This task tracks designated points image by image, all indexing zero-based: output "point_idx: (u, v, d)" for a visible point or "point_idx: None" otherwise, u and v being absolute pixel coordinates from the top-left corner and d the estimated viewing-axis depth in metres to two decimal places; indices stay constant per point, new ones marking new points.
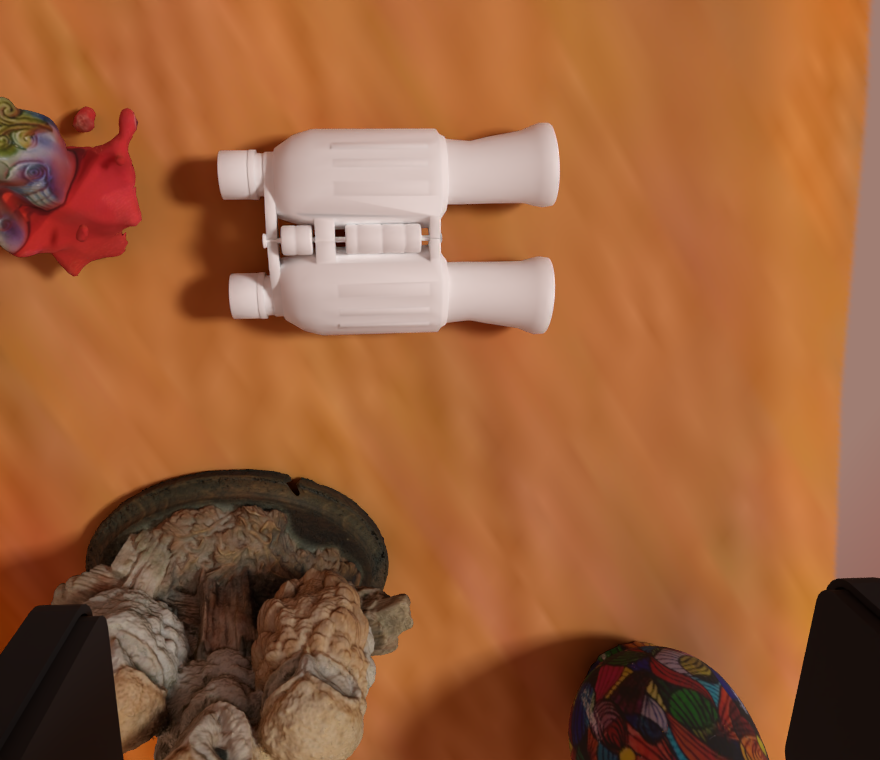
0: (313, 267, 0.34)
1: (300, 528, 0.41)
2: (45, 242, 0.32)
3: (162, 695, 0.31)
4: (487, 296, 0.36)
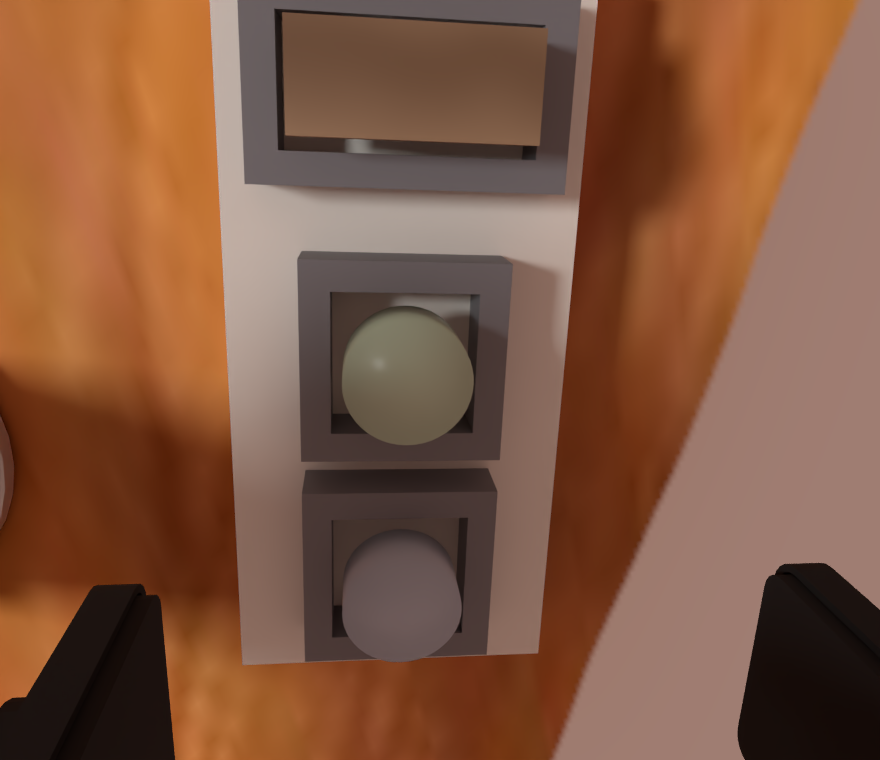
0: None
1: None
2: None
3: None
4: None
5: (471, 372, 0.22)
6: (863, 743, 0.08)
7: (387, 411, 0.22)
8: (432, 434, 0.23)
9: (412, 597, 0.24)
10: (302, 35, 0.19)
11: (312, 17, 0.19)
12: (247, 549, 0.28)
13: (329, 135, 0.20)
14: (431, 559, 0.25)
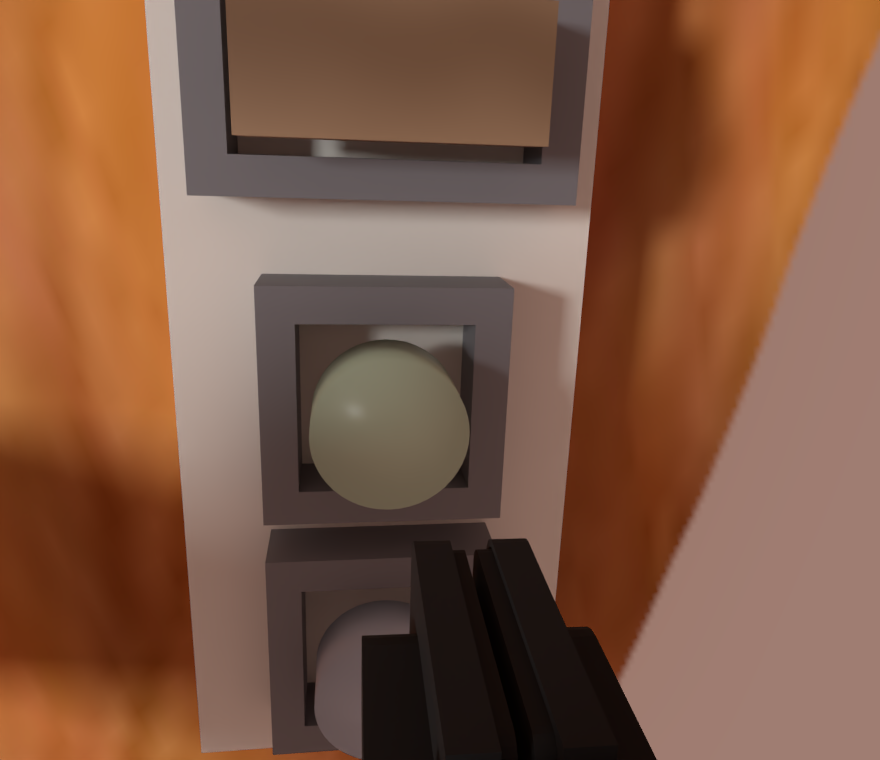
0: None
1: None
2: None
3: None
4: None
5: (466, 421, 0.18)
6: None
7: (365, 470, 0.18)
8: (420, 496, 0.19)
9: None
10: (251, 8, 0.15)
11: None
12: (204, 622, 0.24)
13: (287, 134, 0.16)
14: None
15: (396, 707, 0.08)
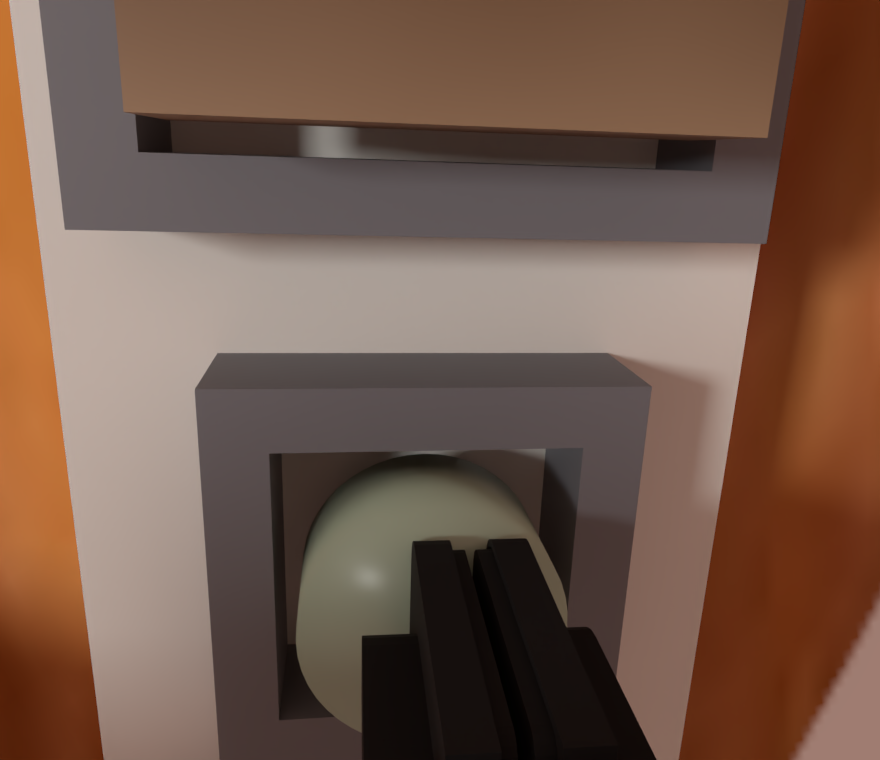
0: None
1: None
2: None
3: None
4: None
5: (563, 606, 0.11)
6: None
7: None
8: None
9: None
10: None
11: None
12: None
13: (243, 112, 0.08)
14: None
15: (396, 707, 0.08)
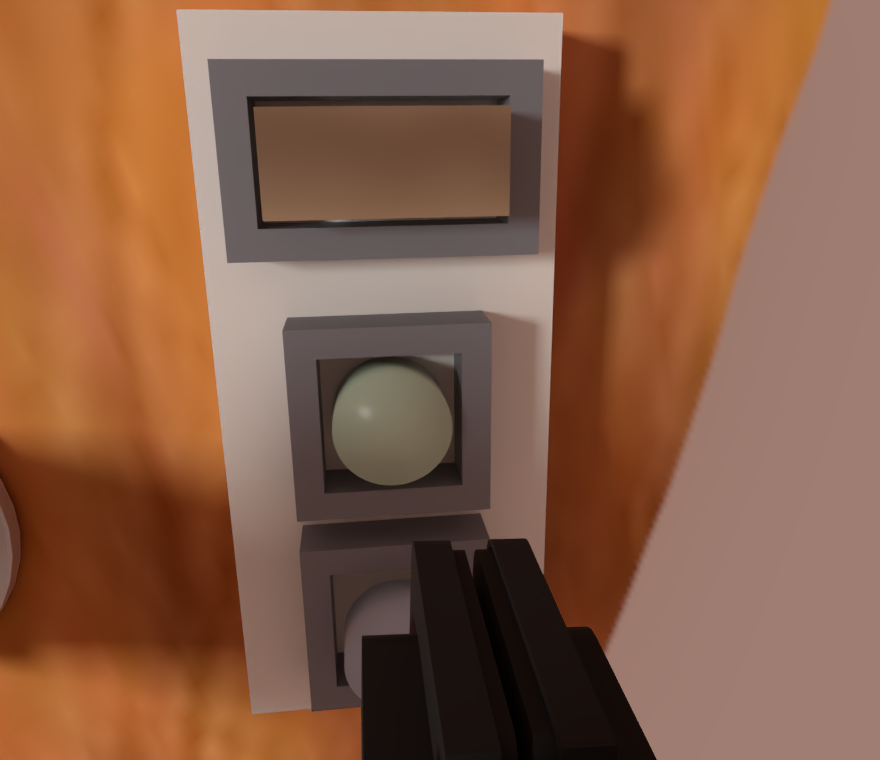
0: None
1: None
2: None
3: None
4: None
5: (450, 416, 0.24)
6: None
7: (375, 455, 0.25)
8: (417, 474, 0.25)
9: None
10: (274, 127, 0.20)
11: (282, 109, 0.20)
12: (250, 604, 0.28)
13: (305, 218, 0.21)
14: None
15: (396, 707, 0.08)
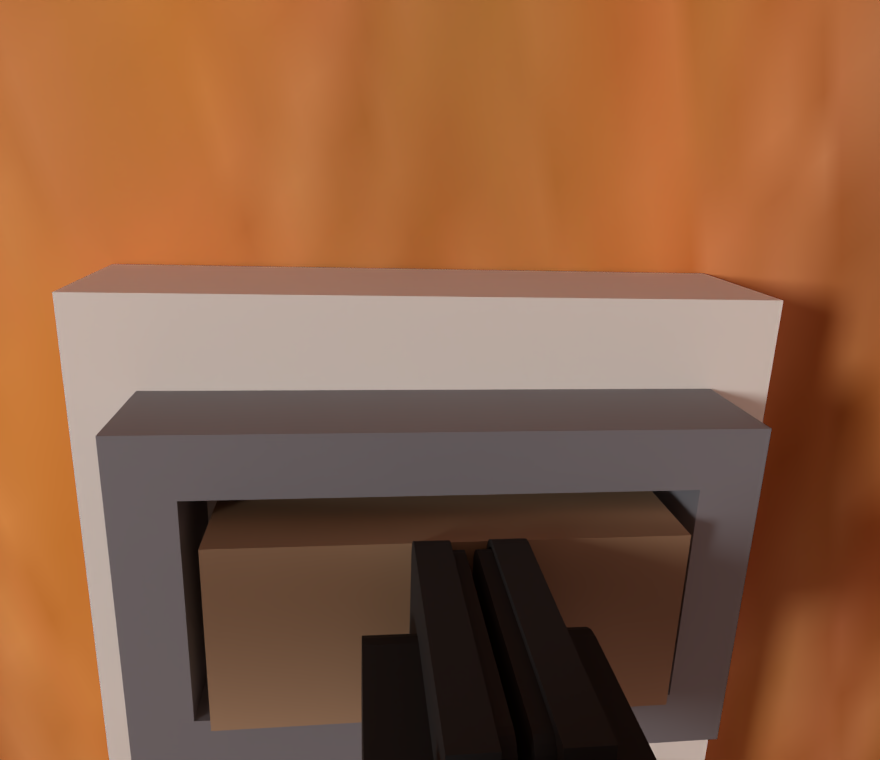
0: None
1: None
2: None
3: None
4: None
5: None
6: None
7: None
8: None
9: None
10: (239, 581, 0.10)
11: (257, 551, 0.10)
12: None
13: (292, 722, 0.11)
14: None
15: (396, 707, 0.08)
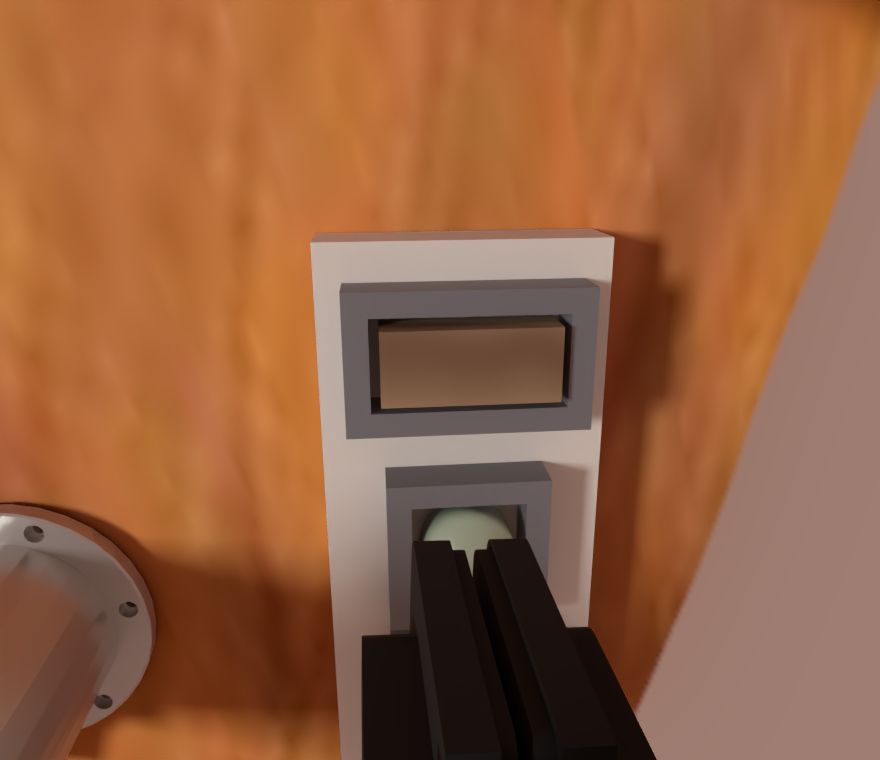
0: None
1: None
2: None
3: None
4: None
5: None
6: None
7: None
8: None
9: None
10: (393, 345, 0.27)
11: (399, 333, 0.27)
12: (345, 686, 0.35)
13: (412, 406, 0.28)
14: None
15: (396, 707, 0.08)
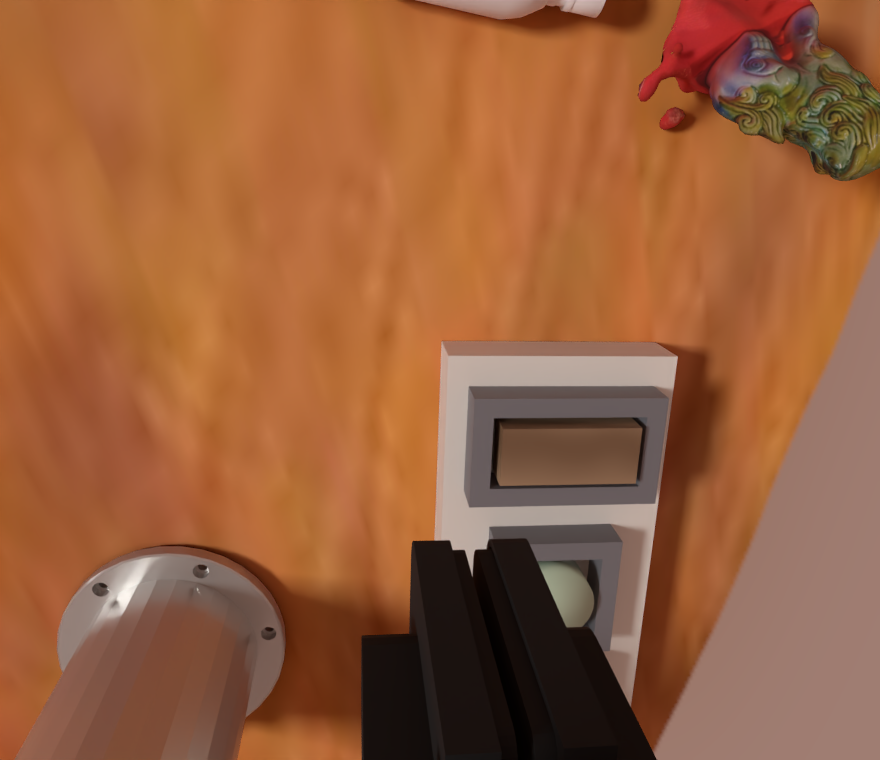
0: None
1: None
2: (780, 4, 0.32)
3: None
4: None
5: (593, 598, 0.39)
6: None
7: None
8: None
9: None
10: (513, 439, 0.36)
11: (518, 430, 0.36)
12: None
13: (523, 484, 0.37)
14: None
15: (396, 707, 0.08)
